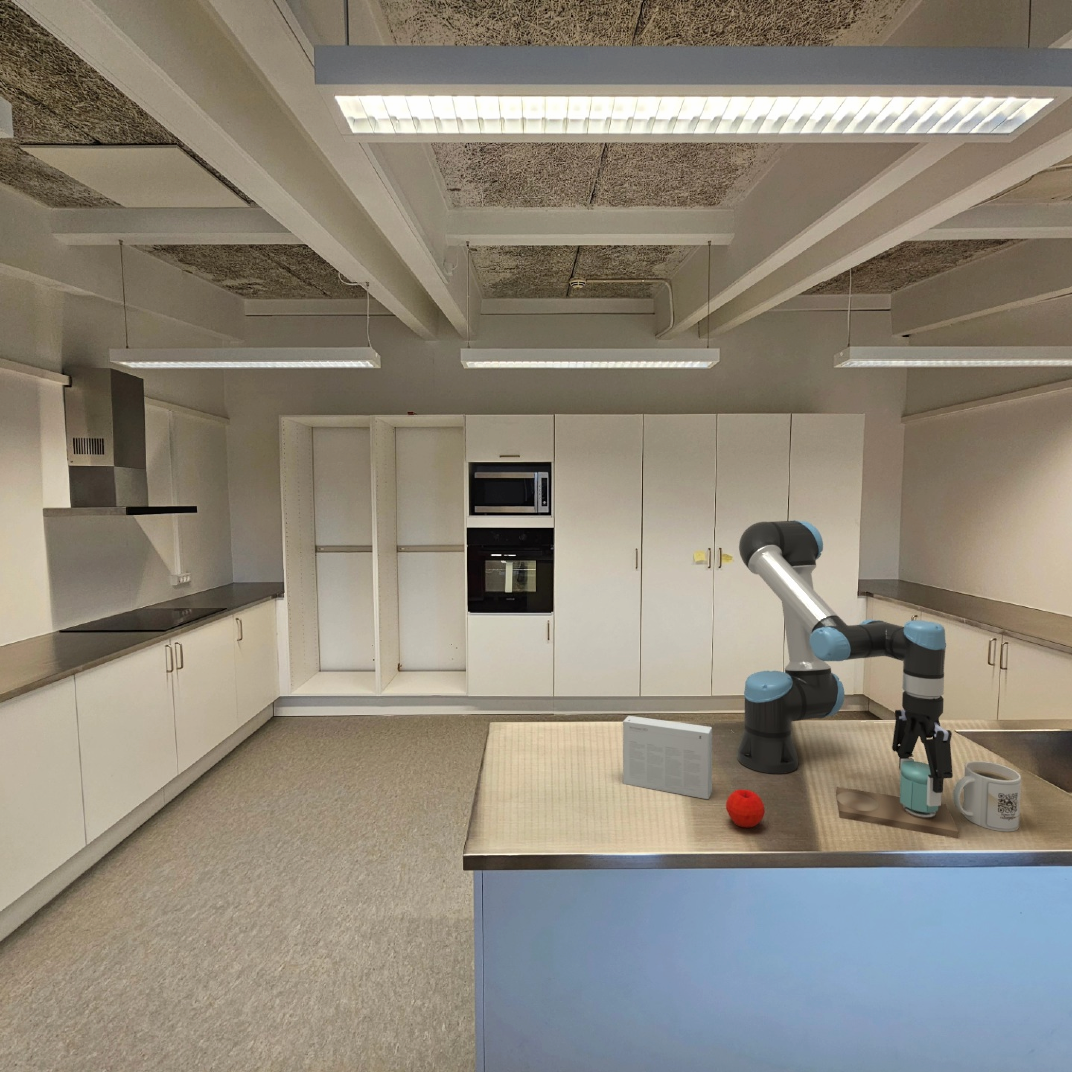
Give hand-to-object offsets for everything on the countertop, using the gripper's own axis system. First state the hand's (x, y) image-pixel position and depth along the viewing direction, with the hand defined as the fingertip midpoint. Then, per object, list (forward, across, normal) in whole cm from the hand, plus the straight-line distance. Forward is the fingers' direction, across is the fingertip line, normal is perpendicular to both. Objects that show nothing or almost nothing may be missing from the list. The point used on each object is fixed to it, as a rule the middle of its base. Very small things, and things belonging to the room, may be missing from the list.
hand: (919, 795), depth 133 cm
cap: (+2, 0, 0) cm, 2 cm away
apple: (+5, +3, +39) cm, 39 cm away
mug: (+5, -2, -14) cm, 15 cm away
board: (+5, +2, +4) cm, 7 cm away
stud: (+4, 0, 0) cm, 4 cm away
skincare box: (+5, +22, +50) cm, 55 cm away
